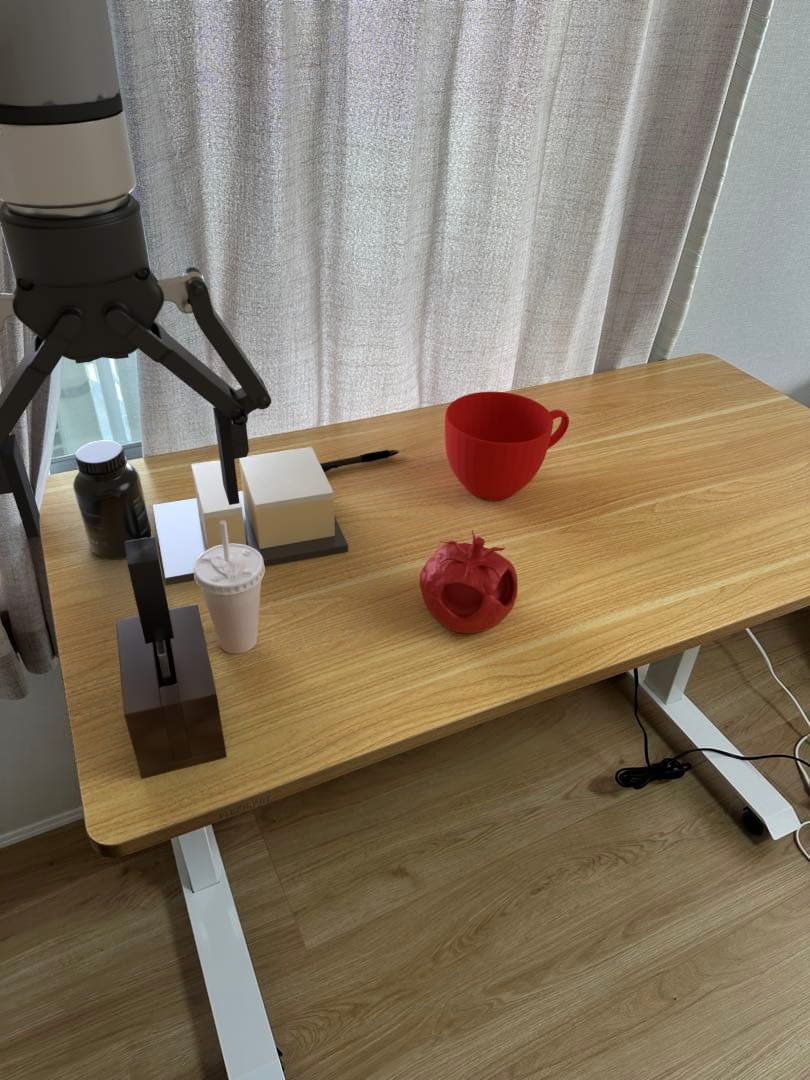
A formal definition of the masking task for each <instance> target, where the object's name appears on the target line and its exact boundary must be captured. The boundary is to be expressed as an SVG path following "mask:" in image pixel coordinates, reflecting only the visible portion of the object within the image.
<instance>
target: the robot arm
mask: <svg viewBox="0 0 810 1080" xmlns="http://www.w3.org/2000/svg"><path fill="white" fill-rule="evenodd" d="M131 147H132V146H131V141H130V135H129V130H128V123H127V117H126V111H125V108H124V105H123V98H122V93H121V87H120V81H119V73H118V68H117V62H116V55H115V47H114V41H113V36H112V28H111V22H110V16H109V9H108V3H107V0H0V201H1V202H2V204H1V205H0V230H1V234H2V237H3V240H4V241H3V242H4V243H5V249H6V252H7V255H8V259H9V264H10V266H11V270H12V273H13V277H14V281H15V289H14V292H13V293H3V292H2V293H1V292H0V332H2V331H3V330H4V328H5V327H4V326H5V322H6V320H7V319H8V318H10V317H16V318H17V320H18V321H20V322H21V324H23V325H24V326H25V327H26V328H27V329H29V330H30V331H31V332H32V333H33V334H35V335H34V337H33V338H32V340H31V342H30V344H29V346H28V349H27V351H25V353H24V355H23V357H22V358H21V360H20V362H19V363H18V364H17V367H16V368H15V369H14V371H13V373H12V374H11V376H10V378H9V379H8V380H7V382H6V384H5V386H3V388H2V390H1V392H0V495H7V494H12V495H13V499H14V502H15V505H16V507H17V510H18V514H19V518H20V521H21V523H22V526H23V529H24V532H25V536H26V538H27V540H28V539H34V538H40V527H41V526H40V525H41V523H40V519H41V518H40V516H41V514H40V509H39V508H38V505H37V501H36V497H35V494H34V491H33V487H32V485H31V481H30V478H29V474H28V472H27V469H26V465H25V462H24V458H23V455H22V453H21V452H22V451H21V449H20V445H19V443H18V439H17V436H16V433H14V434H11V432H13V430H14V428H15V427H16V425H17V423H18V421H19V420H20V418H21V417H22V416H23V414H24V413H25V411H26V409H27V408H28V406H29V404H31V402H32V400H33V398H34V397H35V395H36V394H37V392H38V391H39V389H40V387H41V386H42V384H43V383H44V382H45V380H46V378H47V377H48V376H50V375H51V374H52V373H53V372H54V369H55V368H56V367H57V365H58V364H59V362H60V361H61V359H62V358H65V359H68V360H71V361H75V364H76V365H77V364H85V363H91V362H94V361H96V360H98V359H101V358H102V359H103V358H104V359H112V360H121V359H128V358H130V357H129V356H130V355H131V354H133V353H135V352H136V351H138V350H140V351H141V352H142V353H143V354H144V355H146V356H147V357H148V358H149V359H151V360H152V361H153V362H155V363H157V364H160V365H161V366H163V367H164V368H166V369H167V370H168V371H169V372H170V373H172V374H173V375H174V376H175V377H177V378H178V379H179V380H180V381H182V382H183V383H184V384H186V386H188V387H190V388H191V389H192V390H193V391H194V392H196V393H197V394H198V395H199V396H200V397H202V398H203V399H204V400H205V401H206V402H208V403H209V404H211V405H212V406H213V407H212V410H213V411H212V412H213V418H214V426H215V433H216V441H217V448H218V449H217V450H218V454H219V456H218V457H219V460H220V464H221V471H222V479H223V486H224V489H225V492H226V496H227V499H228V502H229V505H233V504H239V503H240V502H239V494H238V491H239V486H238V479H237V477H238V476H237V470H236V461H235V460H237V459H239V458H244V457H247V456H249V452H250V445H249V439H248V438H249V437H248V429H247V428H248V427H247V423H248V421H249V417H248V416H249V414H250V413H252V412H254V411H256V410H266V409H268V408H269V407H270V406H271V404H272V398H271V396H270V393H269V390H268V388H267V386H266V385H265V382H264V380H263V378H262V377H261V376H260V374H259V373H258V371H257V370H256V369H255V367H254V366H253V363H251V362H250V360H249V358H248V357H247V355H246V354H245V352H244V351H243V349H242V348H241V346H240V345H239V343H238V342H237V340H236V339H235V338H234V336H233V334H232V333H231V331H230V330H229V328H228V327H227V326H226V324H225V323H224V321H223V320H222V318H221V316H219V314H218V313H217V311H216V309H215V308H214V306H213V305H212V302H211V297H210V293H209V290H208V286H207V284H206V281H205V278H204V276H203V274H202V272H201V270H199V269H198V268H197V267H194V266H192V267H190V266H189V267H187V268H186V269H185V270H184V271H183V273H182V275H179V276H175V277H169V278H165V279H160V280H158V279H157V277H156V276H155V275H154V273H153V271H152V267H151V263H150V256H149V251H148V244H147V238H146V234H145V233H146V232H145V227H144V220H143V214H142V209H141V204H140V201H138V199H136V198H135V196H134V195H133V194H131V192H132V191H133V190H134V189H135V187H136V186H137V185H138V183H137V177H136V172H135V165H134V160H133V153H132V148H131ZM165 302H171V303H173V304H174V305H175V306H176V307H177V309H178V310H179V311H180V312H181V313H183V314H193V316H194V317H193V318H194V319H195V321H196V324H197V325H198V327H199V329H200V331H201V332H202V333H203V334H204V336H205V338H206V339H207V340H208V342H209V343H210V345H211V346H212V348H213V349H214V350H215V352H216V353H217V354H218V357H220V359H221V360H222V361H223V363H224V364H225V366H226V367H227V368H228V370H229V372H230V373H231V374H232V376H233V377H234V379H235V380H236V382H237V383H238V384H239V386H240V387H239V388H238V389H235V388H233V386H231V385H230V384H229V383H228V382H226V381H225V380H224V379H223V378H221V377H220V376H219V375H218V374H217V373H215V372H214V371H213V370H212V369H211V368H210V367H209V366H207V365H206V364H205V363H204V362H202V361H201V359H199V358H198V357H196V356H195V355H194V354H193V353H192V352H191V351H189V350H188V349H187V348H186V347H184V346H183V345H182V343H180V342H179V341H178V340H176V339H175V338H173V336H171V335H170V334H169V332H168V331H167V330H166V329H165V328H164V326H162V325H161V324H160V323H158V321H156V319H157V317H158V316H159V313H160V312H161V310H162V308H163V307H164V304H165Z"/></svg>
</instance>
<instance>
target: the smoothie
mask: <svg viewBox="0 0 810 1080" xmlns="http://www.w3.org/2000/svg"><path fill="white" fill-rule="evenodd" d="M220 528H221V536H222V544H223V545H218V546H215V547H212V548H210V549H208V550H206V551H205V552H203V553H202V554H201V555H200V556H199V557H198V558H197V559H196V561H195V563H194V579H195V580H194V581H195V584H196V585H197V586H198V587H199V588H200V590H201V593H202V596H203V599H204V602H205V604H206V608H207V610H208V614H209V616H210V619H211V622H212V625H213V628H214V631H215V634H216V636H217V640H218V644H219V646H220V648H221V649H222V650H223V651H224V652H227V653H229V654H243V653H246V652H248V651H251V650H252V649H253V648H254V647H255V646H256V645H257V642H258V639H259V637H258V635H259V619H260V603H261V588H262V580H263V578H264V575H265V573H266V567H265V566H264V561H263V557H262V556H261V554H260V553H259V552H258V551H257V550H255V549H254V548H252V547H250V546H247V545H243V544H229V541H228V533H227V525H226V521H224V520H222V521H220Z"/></svg>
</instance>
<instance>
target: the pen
mask: <svg viewBox="0 0 810 1080" xmlns="http://www.w3.org/2000/svg"><path fill="white" fill-rule="evenodd" d="M397 454H399V450H397V449H389V450H388V449H385V450H384V449H383V450H379V451H373V452H368V453H363V454H359V455H355V456H352V457H347V458H346V457H345V458H342V459H336V460H331V461H325V462H319V463H320V465H321V467H322V469H323V471H324V473H325V472H328V471H330V470H333V469H338V468H340V467H346V466H351V465H355V464H360V463H361V464H364V463H371V462H374V461H379V460H383V459H384V460H385V459H388V458H390V457H394V456H396V455H397Z"/></svg>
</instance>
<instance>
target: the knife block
mask: <svg viewBox="0 0 810 1080" xmlns="http://www.w3.org/2000/svg"><path fill="white" fill-rule="evenodd" d="M169 611H170V617H171V622H172V628H173V634H174V638H172V639H168V640H166V644H167V649H168V654H169V659H170V664H171V669H172V674H173V678H174V683H175V685H170V686H165V685H164V681H163V676H162V672H161V667H160V663H159V658H158V652H157V645H156V642H153V643H148V644H146V643H145V640H144V635H143V631H142V627H141V622H140V618H139V615H135V616H134V615H133V616H130V617H125V618H118V619H116V620H115V629H116V630H115V631H116V642H117V652H118V663H119V665H118V666H119V674H120V684H121V685H120V686H121V698H122V709H123V716H124V719H125V723H126V727H127V731H128V735H129V739H130V742H131V745H132V749H133V753H134V756H135V760H136V764H137V767H138V771H139V776H140V778H141V779H146V778H151V777H152V776H157V775H161V774H167V773H170V772H173V771H177V770H181V769H185V768H190V767H194V766H198V765H202V764H206V763H209V762H214V761H218V760H222V759H225V758H227V757H228V756H227V755H228V754H227V750H226V749H227V748H226V742H225V737H224V731H223V724H222V718H221V712H220V707H219V699H218V693H217V688H216V684H215V683H216V682H215V680H214V674H213V670H212V666H211V661H210V656H209V651H208V646H207V642H206V641H207V640H206V637H205V632H204V627H203V623H202V618H201V613H200V609H199V604H198V603H195V604H191V605H190V604H189V605H186V606H180V607H176V608H175V607H174V608H169Z"/></svg>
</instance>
